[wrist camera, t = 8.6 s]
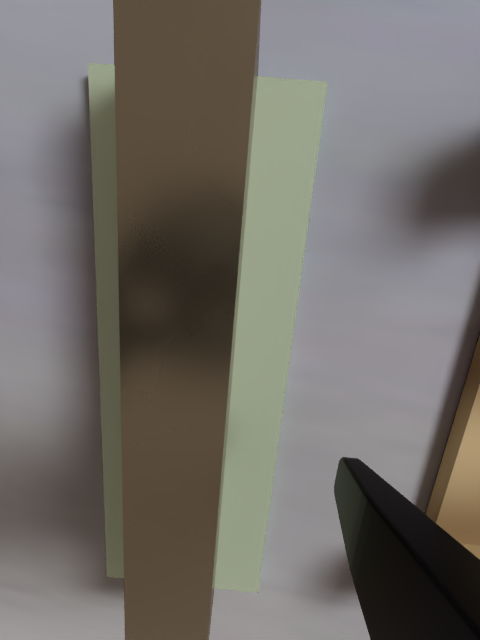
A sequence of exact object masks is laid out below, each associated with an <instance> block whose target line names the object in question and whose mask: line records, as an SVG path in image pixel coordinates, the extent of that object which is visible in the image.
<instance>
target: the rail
mask: <svg viewBox="0 0 480 640" xmlns="http://www.w3.org/2000/svg"><path fill="white" fill-rule="evenodd" d="M113 11H114V65H115V119H116V173H117V228H118V282H119V336H120V390H121V445H122V499H123V553H124V607H125V640H209V634H210V624H211V615H212V605H213V596H214V587H215V575H216V563H217V551H218V539H219V528H220V516H221V504H222V492H223V480H224V469H225V457H226V445H227V433H228V421H229V410H230V398H231V386H232V374H233V362H234V351H235V339H236V327H237V315H238V303H239V292H240V280H241V268H242V256H243V244H244V233H245V221H246V209H247V197H248V185H249V174H250V162H251V150H252V138H253V126H254V115H255V103H256V91H257V79H258V62H259V39H260V16H261V0H113Z"/></svg>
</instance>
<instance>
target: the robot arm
mask: <svg viewBox="0 0 480 640" xmlns="http://www.w3.org/2000/svg"><path fill="white" fill-rule="evenodd" d="M334 494H335V500H336V504H337V509H338V514H339V519H340V524H341V529H342V534H343V539H344V544H345V548H346V553H347V558H348V562H349V567H350V571H351V575H352V578H353V582H354V586H355V589H356V592H357V596H358V599H359V602H360V606H361V609H362V612H363V615H364V619H365V622H366V625H367V629H368V632H369V635H370V639H371V640H480V559H479V558H477V557H476V556H475V555H474V554H473V553H471V552H470V551H469V550H468V549H467V548H465V547H464V546H463V545H462V544H461V543H459V542H458V541H457V540H456V539H455V538H453V537H452V536H451V535H450V534H449V533H447V532H446V531H445V530H444V529H443V528H441V527H440V526H439V525H438V524H436V523H435V522H434V521H433V520H432V519H430V518H429V517H428V516H427V515H426V514H424V513H423V512H422V511H421V510H420V509H418V508H417V507H416V506H415V505H414V504H412V503H411V502H410V501H409V500H408V499H406V498H405V497H404V496H403V495H402V494H400V493H399V492H398V491H397V490H396V489H394V488H393V487H392V486H391V485H390V484H388V483H387V482H386V481H385V480H384V479H382V478H381V477H380V476H379V475H378V474H376V473H375V472H374V471H373V470H372V469H370V468H369V467H368V466H367V465H366V464H364V463H363V462H362V461H361V460H359V459H357V458H348V457H343V458H341V459H340V461H339V464H338V469H337V474H336V480H335V485H334Z"/></svg>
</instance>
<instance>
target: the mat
mask: <svg viewBox="0 0 480 640" xmlns="http://www.w3.org/2000/svg"><path fill="white" fill-rule="evenodd" d="M88 82H89V109H90V136H91V163H92V190H93V217H94V245H95V272H96V299H97V326H98V353H99V380H100V407H101V434H102V461H103V488H104V515H105V542H106V569H107V577H112V578H122V579H124V553H123V499H122V445H121V390H120V336H119V282H118V228H117V173H116V119H115V65H107V64H94V63H88ZM327 83H328V82H321V81H309V80H296V79H283V78H271V77H258V79H257V91H256V103H255V115H254V126H253V138H252V150H251V162H250V174H249V185H248V197H247V209H246V221H245V233H244V244H243V256H242V268H241V280H240V292H239V303H238V315H237V327H236V339H235V351H234V362H233V374H232V386H231V398H230V410H229V421H228V433H227V445H226V457H225V469H224V480H223V492H222V504H221V516H220V528H219V539H218V551H217V563H216V575H215V587H214V588H217V589H227V590H236V591H246V592H255V593H258V589H259V582H260V575H261V567H262V560H263V553H264V545H265V538H266V531H267V523H268V516H269V509H270V501H271V494H272V487H273V479H274V472H275V465H276V457H277V450H278V443H279V435H280V428H281V421H282V413H283V406H284V399H285V391H286V384H287V377H288V369H289V362H290V354H291V347H292V340H293V332H294V325H295V318H296V310H297V303H298V296H299V288H300V281H301V274H302V266H303V259H304V252H305V244H306V237H307V230H308V222H309V215H310V208H311V200H312V193H313V186H314V178H315V171H316V164H317V156H318V149H319V142H320V134H321V127H322V120H323V112H324V105H325V98H326V90H327Z"/></svg>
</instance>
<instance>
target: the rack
mask: <svg viewBox="0 0 480 640" xmlns="http://www.w3.org/2000/svg"><path fill="white" fill-rule="evenodd" d="M426 515H427V516H428V517H429V518H430V519H432V520H433V521H434V522H435V523H436V524H438V525H439V526H440V527H441V528H443V529H444V530H445V531H446V532H447V533H449V534H450V535H451V536H452V537H453V538H455V539H456V540H457V541H458V542H459V543H461V544H462V545H463V546H464V547H465V548H467V549H468V550H469V551H470V552H471V553H473V554H474V555H475V556H476V557H477V558H479V559H480V335H479V339H478V342H477V345H476V349H475V352H474V355H473V359H472V362H471V365H470V369H469V372H468V375H467V379H466V382H465V385H464V388H463V392H462V395H461V398H460V402H459V405H458V408H457V412H456V415H455V418H454V422H453V425H452V428H451V432H450V435H449V438H448V441H447V445H446V448H445V451H444V455H443V458H442V461H441V465H440V468H439V471H438V475H437V478H436V481H435V485H434V488H433V491H432V495H431V498H430V501H429V504H428V508H427V511H426Z"/></svg>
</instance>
